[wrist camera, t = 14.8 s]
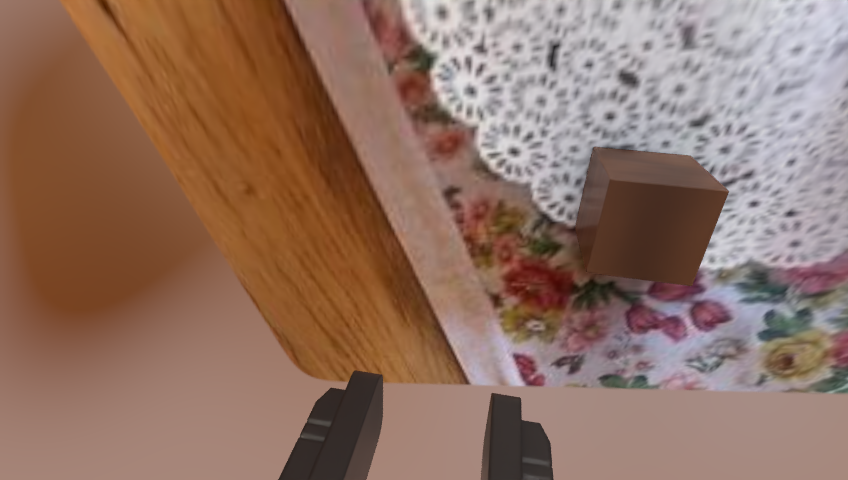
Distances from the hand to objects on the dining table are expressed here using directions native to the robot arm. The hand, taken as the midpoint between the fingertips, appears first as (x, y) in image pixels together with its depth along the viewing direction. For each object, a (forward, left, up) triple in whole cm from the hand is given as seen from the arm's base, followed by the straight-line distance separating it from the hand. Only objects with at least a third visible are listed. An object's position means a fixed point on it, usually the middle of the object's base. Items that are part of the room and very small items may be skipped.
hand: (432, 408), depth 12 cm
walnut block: (+8, 0, -17) cm, 19 cm away
